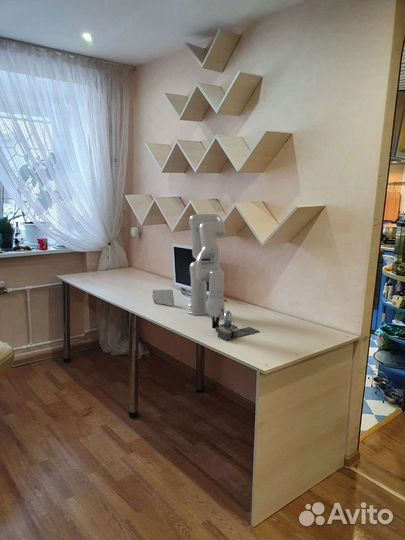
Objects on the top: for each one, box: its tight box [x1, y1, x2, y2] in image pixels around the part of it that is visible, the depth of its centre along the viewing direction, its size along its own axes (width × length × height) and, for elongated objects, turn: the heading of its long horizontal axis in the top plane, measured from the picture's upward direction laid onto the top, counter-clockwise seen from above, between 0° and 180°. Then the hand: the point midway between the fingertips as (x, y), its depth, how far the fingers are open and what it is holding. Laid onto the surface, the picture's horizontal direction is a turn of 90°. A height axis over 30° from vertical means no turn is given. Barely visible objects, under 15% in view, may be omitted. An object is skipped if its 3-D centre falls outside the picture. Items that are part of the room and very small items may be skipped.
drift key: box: [215, 326, 232, 336], centre depth 209 cm, size 10×3×3 cm, turn 37°
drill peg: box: [223, 310, 232, 328], centre depth 222 cm, size 4×4×9 cm
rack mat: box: [235, 326, 260, 338], centre depth 215 cm, size 8×15×1 cm, turn 127°
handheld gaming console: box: [151, 288, 175, 307], centre depth 264 cm, size 11×3×15 cm
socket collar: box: [219, 323, 238, 330], centre depth 222 cm, size 8×8×1 cm
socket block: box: [217, 327, 238, 342], centre depth 206 cm, size 7×7×4 cm
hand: (215, 327), depth 214 cm, fingers closed
